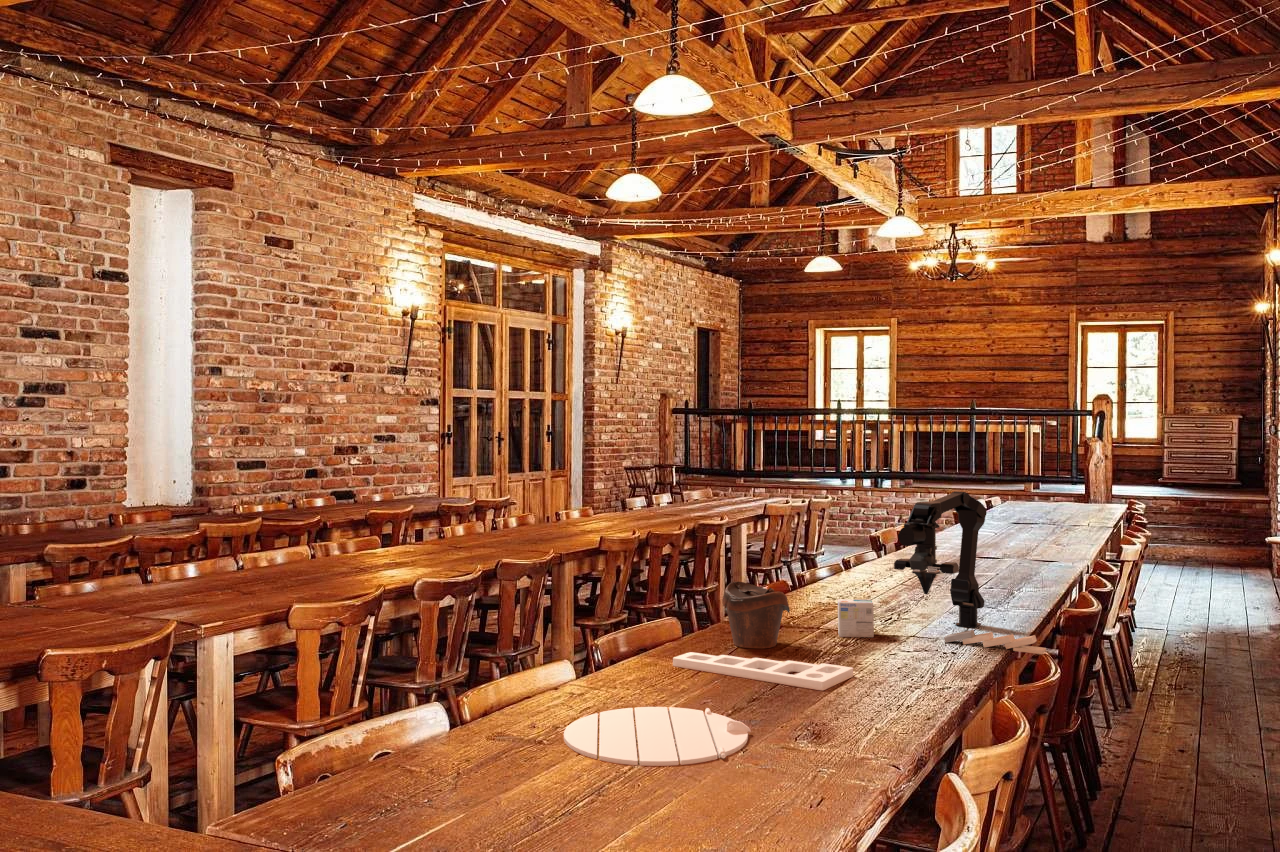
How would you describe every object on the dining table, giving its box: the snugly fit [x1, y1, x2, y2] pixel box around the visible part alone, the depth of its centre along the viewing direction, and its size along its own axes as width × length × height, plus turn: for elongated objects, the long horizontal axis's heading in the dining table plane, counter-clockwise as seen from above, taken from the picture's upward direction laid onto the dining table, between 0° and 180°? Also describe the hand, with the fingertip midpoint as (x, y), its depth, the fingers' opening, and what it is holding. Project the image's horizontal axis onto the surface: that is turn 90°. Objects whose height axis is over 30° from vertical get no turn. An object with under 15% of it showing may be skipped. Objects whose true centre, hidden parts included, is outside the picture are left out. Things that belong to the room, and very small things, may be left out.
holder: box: [672, 651, 854, 691], centre depth 287 cm, size 45×18×3 cm, turn 54°
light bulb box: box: [837, 598, 875, 638], centre depth 332 cm, size 11×7×11 cm, turn 84°
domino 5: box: [1012, 645, 1047, 655], centre depth 310 cm, size 4×2×8 cm
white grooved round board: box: [563, 706, 752, 767], centre depth 230 cm, size 40×39×3 cm
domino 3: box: [981, 633, 1016, 648], centre depth 314 cm, size 4×2×8 cm
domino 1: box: [943, 629, 976, 644], centre depth 321 cm, size 4×2×8 cm
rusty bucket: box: [721, 581, 791, 650], centre depth 319 cm, size 18×20×18 cm
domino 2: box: [961, 631, 995, 645], centre depth 318 cm, size 4×2×8 cm
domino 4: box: [1004, 634, 1037, 650], centre depth 311 cm, size 4×2×8 cm
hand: (926, 594), depth 331 cm, fingers closed
